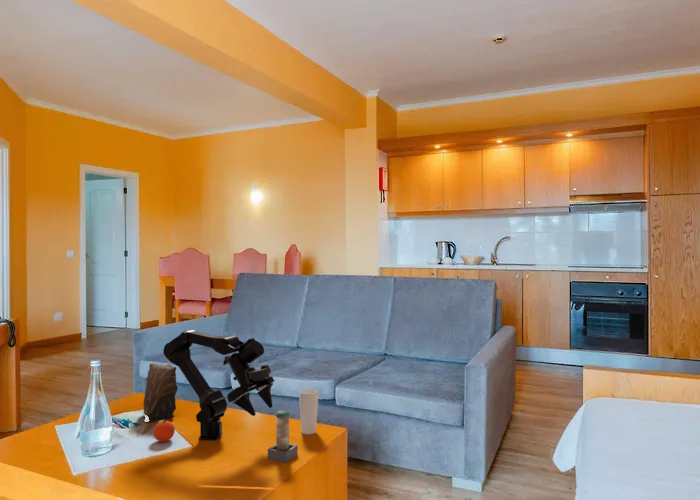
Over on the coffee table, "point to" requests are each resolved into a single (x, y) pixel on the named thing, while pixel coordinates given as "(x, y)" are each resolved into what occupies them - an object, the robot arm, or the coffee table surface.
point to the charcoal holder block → (282, 453)
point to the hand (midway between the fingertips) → (263, 411)
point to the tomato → (163, 431)
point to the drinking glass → (308, 410)
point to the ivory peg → (282, 430)
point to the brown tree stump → (160, 392)
